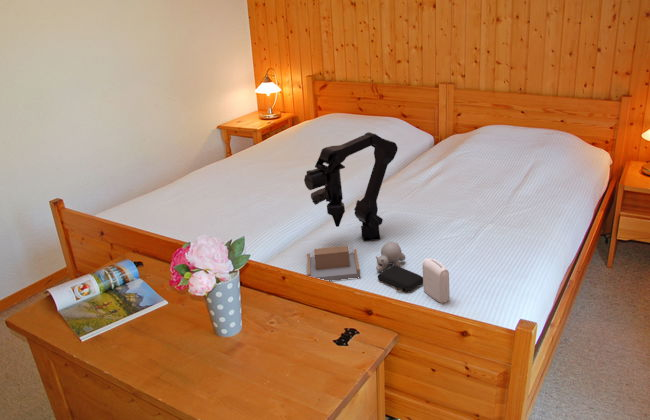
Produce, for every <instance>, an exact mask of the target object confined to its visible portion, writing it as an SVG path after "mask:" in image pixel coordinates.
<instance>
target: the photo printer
mask: <svg viewBox="0 0 650 420" xmlns="http://www.w3.org/2000/svg"><path fill="white" fill-rule="evenodd" d="M449 272H450V271H449V270H448V269H447V267H446V266H445V265H444V264H443V263H441V262H440V261H438V260H437V259H434V258H430V257H429V258H428V257H427V258H425V259H424V260H423V262H422V277H423V284H422V287H423V288H422V289H423V291H424V292H425V293H426V294H427V295H428V296H430V297H431V298H432V299H434V300H435V301H437V302H438V303H441V304H443V303H448V302H449V300H450V273H449Z"/></svg>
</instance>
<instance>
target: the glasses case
mask: <svg viewBox="0 0 650 420" xmlns="http://www.w3.org/2000/svg"><path fill="white" fill-rule="evenodd" d="M313 250H314V252H313V253H314V257H315V263H316V270H320V269H330V268H340V267H350V259H349V253H350V250H349V245H341V246H331V247H322V248H320V247H319V248H314V249H313Z"/></svg>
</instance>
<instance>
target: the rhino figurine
mask: <svg viewBox="0 0 650 420" xmlns="http://www.w3.org/2000/svg"><path fill="white" fill-rule="evenodd" d="M375 258H376V263H377V265H376V266H375V269H376V270H377V271H378V272H379V273H381V272H382V271H384V270H386V269H385V268H387V266H389V265H391V263H392V266H398V267H400V265H401V262H404V261H405V260H406V255H405V254H404V253H403V252H402V248H401V246H400V245H399V243H397V242H393V241H388V242H386V243H384V244H383V245H382V247H381V249H380V256H375Z"/></svg>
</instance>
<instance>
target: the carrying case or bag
mask: <svg viewBox="0 0 650 420" xmlns="http://www.w3.org/2000/svg"><path fill="white" fill-rule="evenodd" d="M377 279H378V280H379V282H381V283H384V284H386V285H389V286H390V287H393V288H394V289H395V290H396V291H401V292H404V293H410V292H412V291H414V290H415V289H417V288H419V287H420V286H423V275H420V274H418V273H415V272H413V271H411V270H408V269H406V268H404V267H401V266H393V265H391V266H390V267H388V268H386V269H385V270H384V271H383V272H379V273H378V274H377Z"/></svg>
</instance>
